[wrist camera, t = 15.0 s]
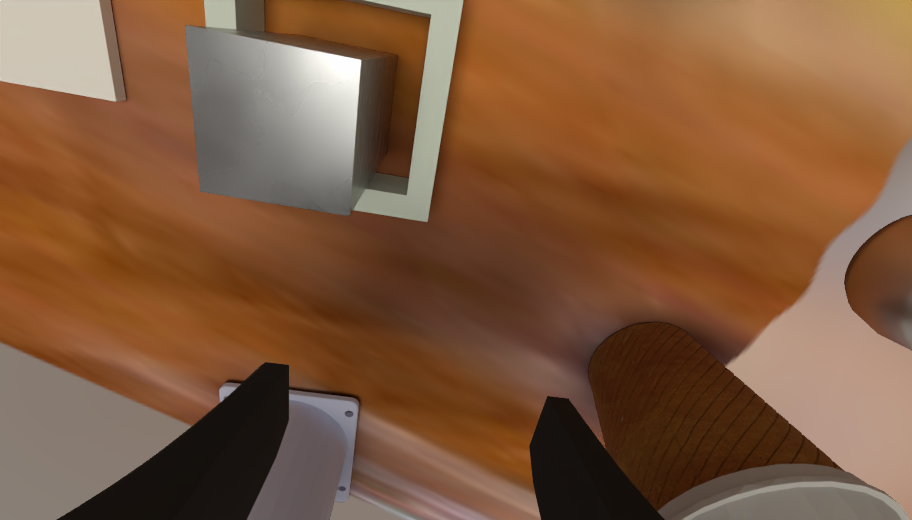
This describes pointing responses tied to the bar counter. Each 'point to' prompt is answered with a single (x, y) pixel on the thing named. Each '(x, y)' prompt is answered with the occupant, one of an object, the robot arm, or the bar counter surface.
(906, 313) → the plastic bottle
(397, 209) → the frame
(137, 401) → the bar counter surface
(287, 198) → the pin block
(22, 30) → the pad
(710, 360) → the disposable coffee cup
